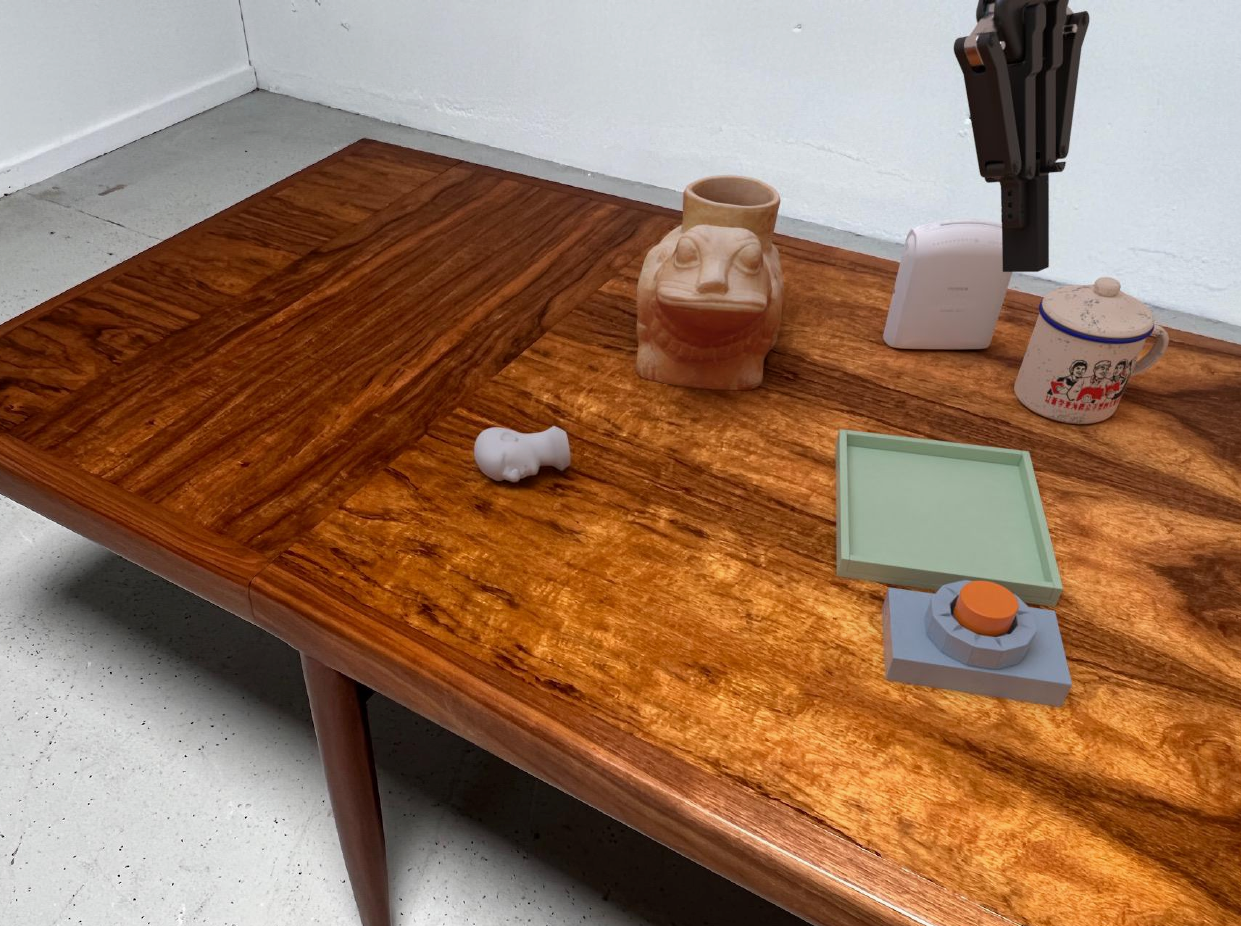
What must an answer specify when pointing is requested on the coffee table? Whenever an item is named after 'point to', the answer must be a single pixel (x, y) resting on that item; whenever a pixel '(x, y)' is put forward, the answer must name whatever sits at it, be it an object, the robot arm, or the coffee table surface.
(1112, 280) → the teacup with lid
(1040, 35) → the robot arm
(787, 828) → the coffee table surface
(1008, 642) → the control block
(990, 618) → the button
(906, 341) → the photo printer
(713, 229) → the ceramic vessel
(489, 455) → the smooth white sculpture
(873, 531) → the tray
